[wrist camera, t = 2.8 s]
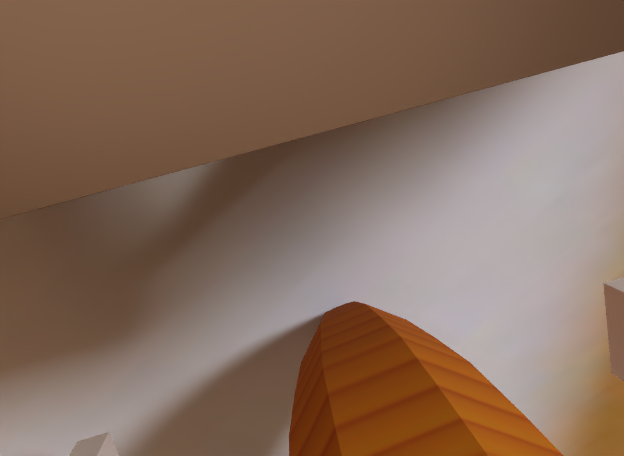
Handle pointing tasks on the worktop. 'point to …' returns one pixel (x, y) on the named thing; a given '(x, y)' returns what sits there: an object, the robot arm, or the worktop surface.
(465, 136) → the worktop surface
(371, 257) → the worktop surface
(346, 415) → the carrot
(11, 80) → the walnut stool
